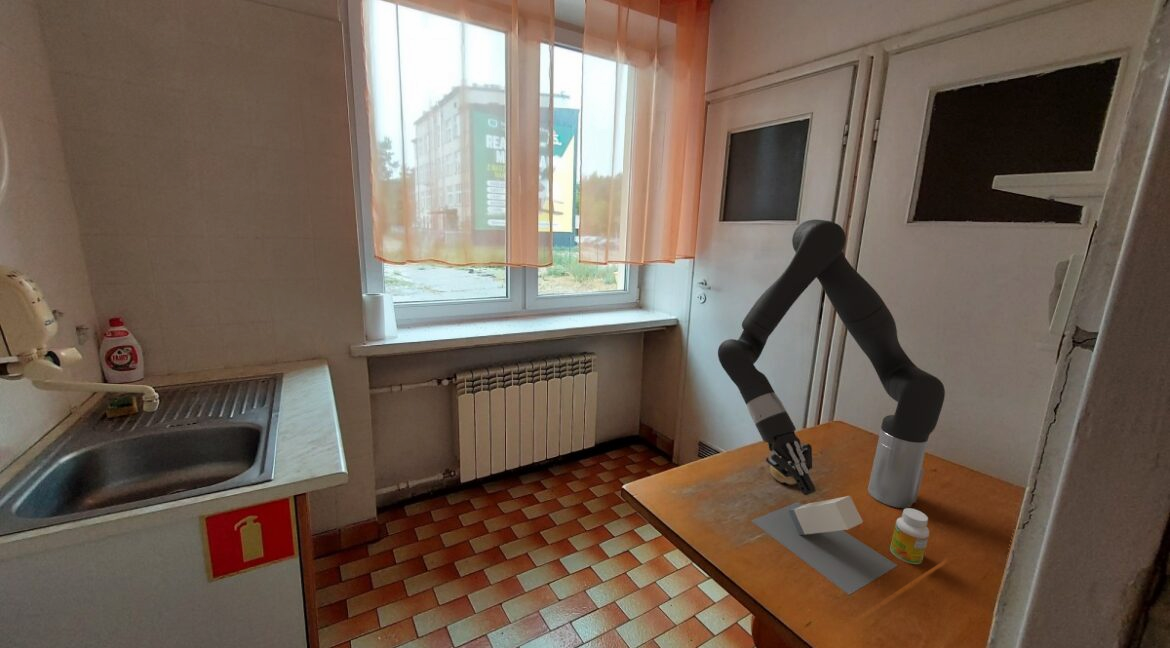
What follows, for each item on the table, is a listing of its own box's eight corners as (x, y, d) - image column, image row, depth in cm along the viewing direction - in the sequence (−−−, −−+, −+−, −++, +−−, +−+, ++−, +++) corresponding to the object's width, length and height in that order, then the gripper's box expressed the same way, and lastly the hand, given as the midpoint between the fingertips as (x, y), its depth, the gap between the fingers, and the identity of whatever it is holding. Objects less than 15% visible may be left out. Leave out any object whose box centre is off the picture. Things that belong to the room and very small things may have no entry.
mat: (750, 522, 97) (750, 520, 97) (797, 503, 105) (797, 501, 104) (848, 597, 78) (849, 594, 78) (897, 567, 86) (897, 565, 86)
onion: (792, 493, 109) (796, 467, 107) (762, 478, 115) (766, 453, 113) (807, 482, 114) (811, 457, 112) (778, 468, 120) (781, 444, 118)
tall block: (788, 510, 95) (834, 502, 85) (803, 504, 97) (850, 495, 88) (799, 535, 93) (848, 529, 83) (814, 528, 95) (863, 522, 86)
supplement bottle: (883, 546, 91) (892, 505, 89) (907, 546, 92) (917, 505, 90) (903, 566, 86) (914, 523, 84) (928, 565, 87) (940, 523, 84)
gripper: (761, 415, 94) (803, 497, 87) (800, 406, 101) (843, 481, 93) (739, 428, 100) (777, 505, 92) (778, 418, 106) (816, 490, 99)
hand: (810, 493), depth 93 cm, fingers closed
